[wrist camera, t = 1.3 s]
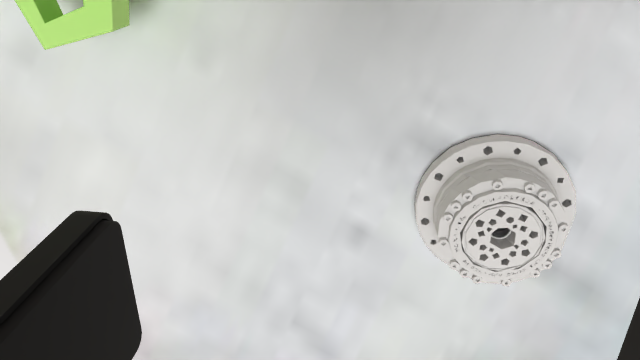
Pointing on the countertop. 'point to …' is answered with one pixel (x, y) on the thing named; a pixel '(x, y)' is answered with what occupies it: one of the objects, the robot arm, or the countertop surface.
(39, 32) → the gearbox
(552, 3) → the countertop surface
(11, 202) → the countertop surface
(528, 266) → the mechanical component
